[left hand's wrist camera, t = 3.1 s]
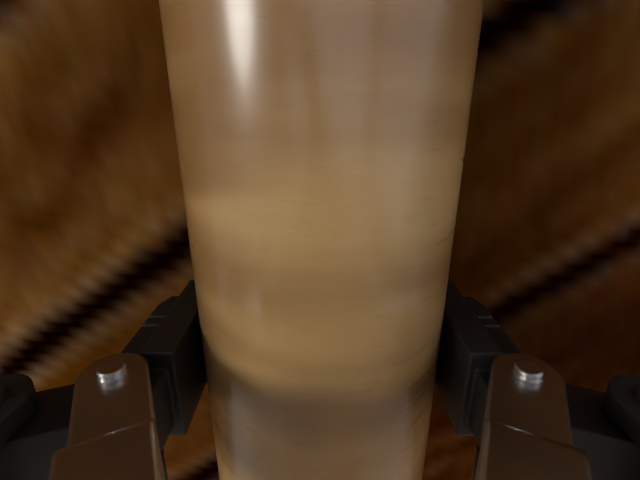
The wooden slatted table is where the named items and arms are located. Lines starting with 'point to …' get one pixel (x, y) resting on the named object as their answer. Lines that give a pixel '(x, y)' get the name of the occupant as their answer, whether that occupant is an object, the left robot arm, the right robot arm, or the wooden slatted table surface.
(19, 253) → the wooden slatted table surface
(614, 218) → the wooden slatted table surface
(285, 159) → the rod
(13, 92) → the wooden slatted table surface
